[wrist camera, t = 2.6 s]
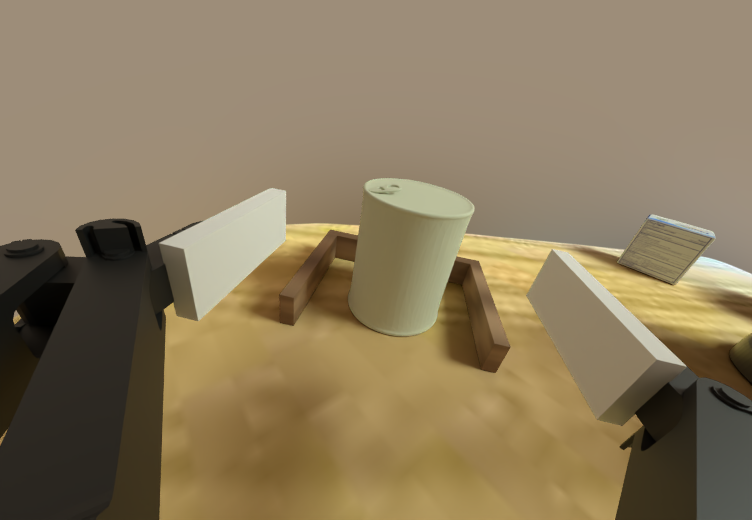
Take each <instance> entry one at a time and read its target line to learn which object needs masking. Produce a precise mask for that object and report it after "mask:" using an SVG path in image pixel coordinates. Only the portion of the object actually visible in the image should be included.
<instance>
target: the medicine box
mask: <svg viewBox="0 0 752 520" xmlns="http://www.w3.org/2000/svg"><path fill="white" fill-rule="evenodd" d="M714 240H715V235H714V233H713V232H712V231H709V230H705V229H702V228H699V227H695V226H691V225H689V224H685V223H682V222H678V221H674V220H671V219H667V218H664V217H660V216H656V215H649V216H648V218H647V219H646V220H645V222H644V223H643V225H642V226H641V227H640V229H639V230H638V232H637V233H636V235H635V236H634V237H633V239H632V240H631V242H630V244H629V245H628V246H627V248H626V249H625V251H624V252H623V254H622V255H621V256H620V258H619V259H618V261H617V263H619V264H621V265H624V266H627V267H629V268H632V269H634V270H637V271H639V272H642V273H645V274H647V275H650V276H652V277H655V278H657V279H660V280H662V281H665V282H668V283H670V284H673V285H676V284H677V283H678V282H679V280H680V279H681V278H682V277H683V276H684V274H685V273H686V272H687V271H688V270H689V269H690V267H691V266H692V265H693V264H694V263H695V262H696V261H697V259H698V258H699V257H700V256H701V255H702V253H703V252H704V251H705V250H706V249H707V248H708V247H709V246H710V245H711V243H712V242H713V241H714Z"/></svg>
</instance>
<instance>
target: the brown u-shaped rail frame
mask: <svg viewBox="0 0 752 520" xmlns="http://www.w3.org/2000/svg"><path fill="white" fill-rule="evenodd" d="M357 241H358V235H353V234H348V233H343V232H339V231H334V230H330V231H329V232H328V233H327V235H326V236H325V237H324V238H323V240H322V241H321V242H320V243H319V245H318V246H317V247H316V249H315V250H314V251H313V252H312V254H311V255H310V256H309V257H308V259H307V260H306V261H305V263H304V264H303V265H302V266H301V268H300V269H299V270H298V271H297V273H296V274H295V275H294V277H293V278H292V279H291V280H290V282H289V283H288V284H287V286H286V287H285V288H284V289H283V291H282V292H281V293H280V294H279V300H280V323H285V324H289V325H293V326H294V324H295V322H296V321H297V319H298V317H299V316H300V314H301V312H302V311H303V309H304V307H305V306H306V304H307V302H308V301H309V299H310V298H311V296H312V294H313V293H314V291H315V289H316V288H317V286H318V284H319V283H320V281H321V279H322V278H323V276H324V274H325V273H326V271H327V269H328V268H329V266H330V265H331V263H332V261H333V260H334V258H335V257H336V258H341V259H346V260H350V261H355V256H356V249H357ZM447 282H451V283H456V284H461V285H462V286H463V290H464V295H465V299H466V304H467V308H468V313H469V318H470V322H471V327H472V331H473V336H474V340H475V345H476V349H477V354H478V358H479V363H480V367H481V370H486V371H490V372H494V373H496V371H497V370H498V368H499V366H500V364H501V363H502V361H503V359H504V358H505V356H506V354H507V352H508V351H509V349H510V345H509V342H508V339H507V337H506V334H505V331H504V328H503V326H502V323H501V320H500V317H499V315H498V312H497V309H496V307H495V304H494V301H493V298H492V296H491V293H490V290H489V288H488V285H487V282H486V279H485V277H484V274H483V271H482V268H481V266H480V263H479V261H476V260H471V259H466V258H461V257H457V256H456V259H455V262H454V264H453V267H452V270H451V273H450V276H449V279H448V281H447Z"/></svg>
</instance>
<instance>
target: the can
mask: <svg viewBox="0 0 752 520" xmlns="http://www.w3.org/2000/svg"><path fill="white" fill-rule="evenodd" d="M473 212H474V205H473V204H472V203H471V202H470V201H469V200H468V199H466V198H465V197H463V196H461V195H459V194H457V193H455V192H453V191H450V190H448V189H444V188H442V187H439V186H435V185H431V184H427V183H423V182H418V181H412V180H405V179H394V178H382V179H374V180H371V181H368V182H366V183H365V185H364V187H363V202H362V211H361V219H360V226H359V234H358V241H357V249H356V256H355V263H354V270H353V276H352V283H351V288H350V291H349V294H348V304H349V307H350V310H351V311H352V313H353V314H354V316H355V317H356V318H357V319H358V320H359V321H360V322H361V323H363V324H364V325H365V326H367V327H369V328H371V329H373V330H375V331H377V332H380V333H383V334H387V335H392V336H414V335H418V334H421V333H423V332H425V331H427V330H428V329H430V328H431V327H432V326H433V324H434V323H435V321H436V319H437V315H438V309H439V305H440V302H441V299H442V296H443V293H444V290H445V287H446V284H447V281H448V279H449V276H450V273H451V270H452V267H453V264H454V262H455V259H456V256H457V253H458V251H459V248H460V245H461V242H462V240H463V237H464V234H465V231H466V229H467V226H468V223H469V221H470V219H471V216H472V214H473Z"/></svg>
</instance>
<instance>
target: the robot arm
mask: <svg viewBox="0 0 752 520" xmlns="http://www.w3.org/2000/svg"><path fill="white" fill-rule="evenodd" d="M75 231H76V233H77V236H78V238H79V240H80V243H81V245H82V248H83V250H84V253H85V255H86V257H65V254H64V252H63V250H62V248H61V246H60V244H59V243H58V242H55V241H52V240H42V239H41V240H32V239H27V240H22V241H20V240H19V241H14V242H11V243H10V244H6V245H2V246H0V438H1V437H2V435H3V434H4V433H5V431H6V430H7V429H8V430H7V433H6V435H5V437H4V439H3V441H2V444H1V446H0V520H159V508H160V478H161V448H162V419H163V389H164V359H165V329H166V316H165V313H164V309H165V308H166V307H167V306H169V305H170V304H171V303H174V307H175V311H176V315H177V316H179V317H183V318H187V319H191V320H195V321H199V320H200V319H201V318H202V317H203V316H205V315H206V314H207V313H208V312H209V311H210V310H211V309H212V308H213V307H214V306H215V305H216V304H218V303H219V302H220V301H221V300H222V299H223V298H224V297H225V296H226V295H227V294H228V293H229V292H231V291H232V290H233V289H234V288H235V287H236V286H237V285H238V284H239V283H240V282H241V281H242V280H243V279H245V278H246V277H247V276H248V275H249V274H250V273H251V272H252V271H253V270H254V269H255V268H256V267H258V266H259V265H260V264H261V263H262V262H263V261H264V260H265V259H266V258H267V257H268V256H269V255H271V254H272V253H273V252H274V251H275V250H276V249H277V248H278V247H279V246H280V245H281V244H282V243H283V242H285V241H286V191H283V190H279V189H274V188H270V189H268V190H266V191H264V192H262V193H260V194H258V195H256V196H254V197H252V198H250V199H248V200H245V201H243V202H242V203H240V204H237V205H235V206H233V207H231V208H229V209H227V210H225V211H223V212H221V213H219V214H217V215H215V216H213V217H211V218H209V219H207V220H205V221H200V222H196V223H192V224H190V225H188V226H186V227H184V228H182V230H178V231H175V232H173V234H169V235H167V236H165V237H163V238H161V239H159V240H157V241H154V242H152V243H150V244H149V245H146V244H145V240H144V236H143V233H142V229H141V226H140V224H139V223H138V222H136V221H134V220H128V219H105V220H98V221H93V222H89V223H87V224H84V225H81V226H80V227H78V228H77V229H76V230H75ZM526 296H527V297H528V299H529V301H530V303H531V304H532V306H533V308H534V310H535V312H536V313H537V315H538V317H539V319H540V320H541V322H542V324H543V326H544V327H545V329H546V331H547V333H548V334H549V336H550V338H551V340H552V341H553V343H554V345H555V347H556V349H557V350H558V352H559V354H560V356H561V357H562V359H563V361H564V363H565V364H566V366H567V368H568V370H569V371H570V373H571V375H572V377H573V378H574V380H575V382H576V384H577V386H578V387H579V389H580V391H581V393H582V394H583V396H584V398H585V400H586V401H587V403H588V405H589V407H590V408H591V410H592V412H593V414H594V415H595V417H596V419H597V420H600V421H604V422H608V423H612V424H616V425H620V426H623V425H624V424H625V423H626V422H627V421H628V420H629V419H630V418H631V417H632V416H633V415H635V414H636V415H637V417H638V418H639V420H640V421H641V422H642V424H643V426H642V427H641V428H640V429H639V430H638V431H636V432H635V433H634V434H633V435H632V436H631V437H630V438H628V439H627V440H626V441H625V442H624V443H623V444H622V445H621V446H620V448H621V449H623V450H625V449H626V448H627V447H632V449H631V453H630V458H629V462H628V466H627V471H626V475H625V479H624V484H623V488H622V492H621V497H620V501H619V505H618V510H617V514H616V518H615V520H752V401H751V400H749V399H748V398H747V397H745V396H744V395H742V394H741V393H739V392H738V391H736V390H734V389H732V388H731V387H729V386H727V385H725V384H722V383H720V382H718V381H715V380H712V379H709V378H699V377H698V376H697V375H695V374H694V373H693V372H692V371H691V370H690V369H689V368H688V367H687V366H686V365H685V364H684V363H683V362H682V361H681V360H680V359H679V358H678V357H677V356H676V355H675V354H674V353H673V352H671V351H670V350H669V349H668V348H667V347H666V346H665V345H664V344H663V343H662V342H661V341H660V340H659V339H658V338H657V337H656V336H655V335H654V334H653V333H652V332H651V331H650V330H649V329H647V328H646V327H645V326H644V325H643V324H642V323H641V322H640V321H639V320H638V319H637V318H636V317H635V316H634V315H633V314H632V313H631V312H630V311H629V310H628V309H626V308H625V307H624V306H623V305H622V304H621V303H620V302H619V301H618V300H617V299H616V298H615V297H614V296H613V295H612V294H611V293H610V292H609V291H608V290H607V289H606V288H605V287H604V286H602V285H601V284H600V283H599V282H598V281H597V280H596V279H595V278H594V277H593V276H592V275H591V274H590V273H589V272H588V271H587V270H586V269H585V268H584V267H583V266H582V265H581V264H580V263H578V262H577V261H576V260H575V259H574V258H573V257H572V256H571V255H570V254H569V253H567V252H563V251H558V250H553V249H552V250H551V252H550V254H549V255H548V257H547V259H546V261H545V263H544V264H543V266H542V268H541V270H540V272H539V273H538V275H537V277H536V279H535V281H534V282H533V284H532V286H531V288H530V290H529V291H528V293H527V295H526ZM15 310H17V312H18V314H19V315H20V317H21V318H22V319H20V320H19V321H18V322H17V323H16V324H15V325H14V322H13V317H14V312H15ZM730 357H731V360H732V362H733V363H734V365H735V366H736V367H737V369H738V370H739V371H740V372H741V373H742V374H743V375H744V376H745V377H746V378H747V379H748V380H749V381H750V382H751V383H752V333H751V334H749V335H747V336H746V337H744V338H743V339H742V340H741V341H740V342H739V343H737V344H736V345H735V346H734V347H733V348H732V349H731V350H730Z"/></svg>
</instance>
